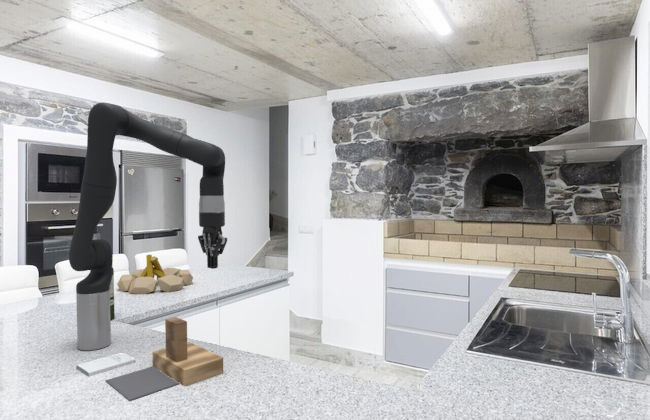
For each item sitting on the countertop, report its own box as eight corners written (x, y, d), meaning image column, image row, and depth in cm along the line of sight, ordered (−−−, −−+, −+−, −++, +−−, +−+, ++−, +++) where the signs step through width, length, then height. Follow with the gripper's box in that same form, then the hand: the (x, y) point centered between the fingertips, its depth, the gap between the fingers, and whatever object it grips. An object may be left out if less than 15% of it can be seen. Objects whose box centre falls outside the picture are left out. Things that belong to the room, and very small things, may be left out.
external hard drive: (76, 370, 116) (122, 356, 126) (88, 378, 111) (135, 363, 120) (76, 364, 116) (122, 351, 126) (88, 372, 111) (135, 358, 120)
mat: (105, 381, 108) (105, 380, 108) (152, 367, 117) (152, 366, 117) (129, 401, 98) (129, 399, 97) (178, 384, 106) (178, 383, 106)
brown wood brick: (165, 356, 114) (165, 319, 114) (176, 353, 116) (175, 316, 116) (176, 362, 110) (176, 323, 110) (187, 359, 112) (186, 321, 112)
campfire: (140, 280, 238) (139, 250, 237) (200, 280, 236) (200, 250, 236) (105, 295, 203) (104, 259, 202) (175, 295, 202) (175, 259, 201)
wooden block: (152, 366, 118) (152, 351, 117) (189, 355, 126) (189, 341, 125) (184, 386, 105) (184, 370, 105) (223, 372, 113) (223, 357, 113)
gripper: (189, 210, 131) (190, 267, 131) (213, 211, 121) (213, 272, 122) (210, 210, 136) (211, 264, 137) (235, 211, 127) (235, 269, 127)
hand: (212, 267), depth 129 cm, fingers closed
